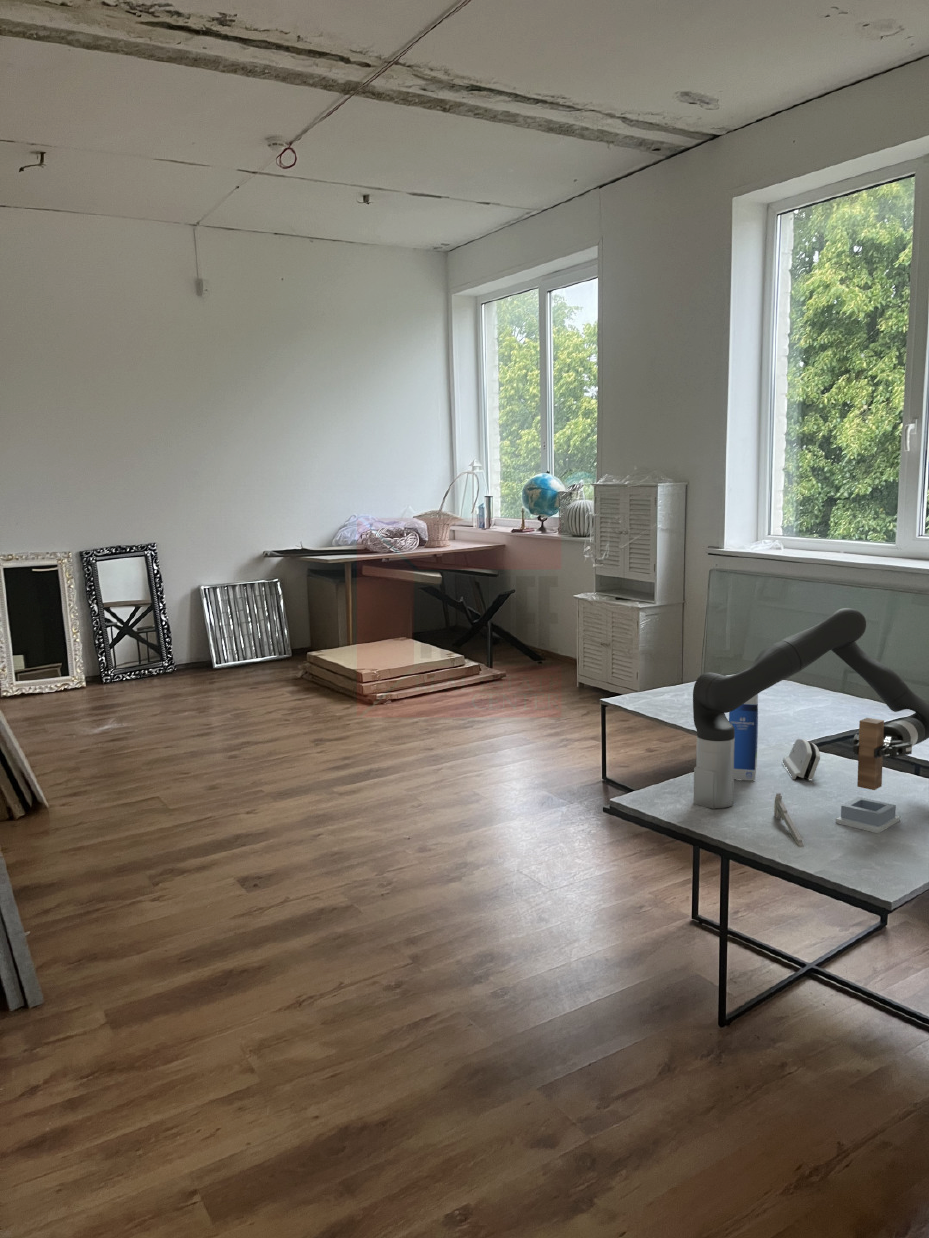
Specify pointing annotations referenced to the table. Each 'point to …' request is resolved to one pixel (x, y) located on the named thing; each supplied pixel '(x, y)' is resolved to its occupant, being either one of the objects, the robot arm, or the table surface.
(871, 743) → the walnut rail
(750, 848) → the table surface
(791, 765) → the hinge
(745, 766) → the string lights box
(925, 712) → the robot arm
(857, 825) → the base
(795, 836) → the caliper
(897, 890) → the table surface
